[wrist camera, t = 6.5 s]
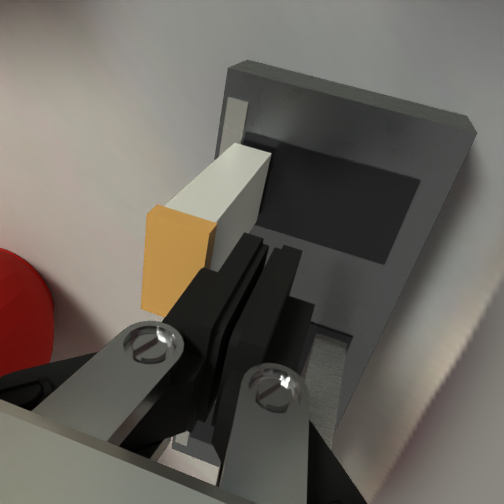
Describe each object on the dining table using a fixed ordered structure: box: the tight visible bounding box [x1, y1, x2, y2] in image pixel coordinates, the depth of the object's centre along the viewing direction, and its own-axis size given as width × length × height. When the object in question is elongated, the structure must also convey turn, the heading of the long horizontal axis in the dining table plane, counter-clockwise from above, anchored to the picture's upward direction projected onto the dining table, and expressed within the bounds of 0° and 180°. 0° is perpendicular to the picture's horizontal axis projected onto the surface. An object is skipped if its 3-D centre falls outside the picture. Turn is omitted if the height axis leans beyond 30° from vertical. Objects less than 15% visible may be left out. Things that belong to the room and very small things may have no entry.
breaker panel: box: [172, 60, 477, 467], centre depth 20 cm, size 24×9×9 cm, turn 169°
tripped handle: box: [141, 143, 272, 317], centre depth 15 cm, size 3×2×7 cm, turn 169°
